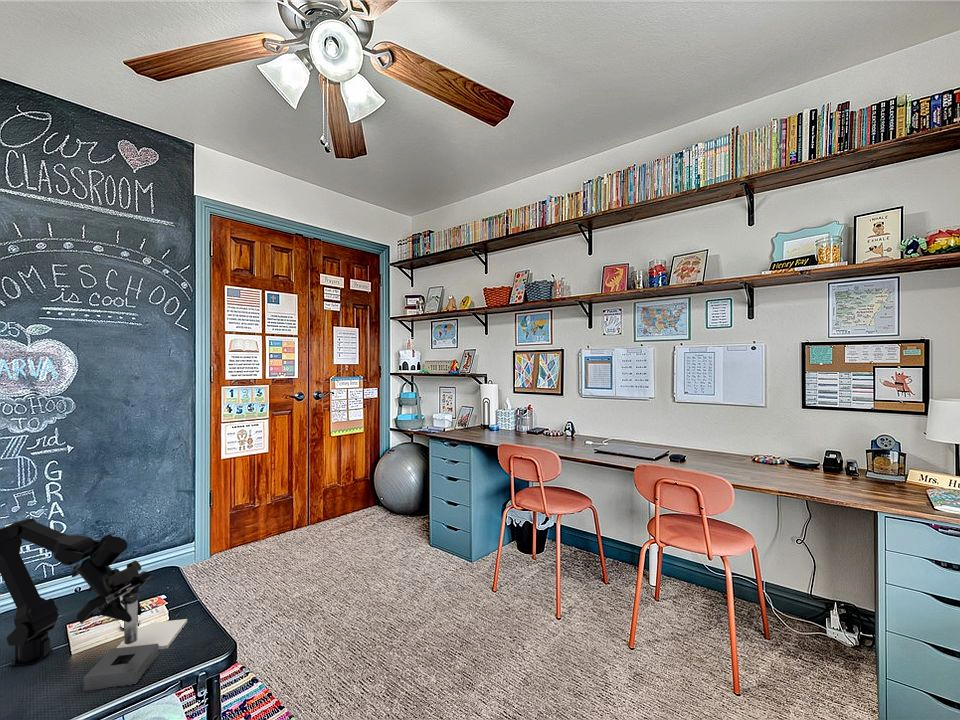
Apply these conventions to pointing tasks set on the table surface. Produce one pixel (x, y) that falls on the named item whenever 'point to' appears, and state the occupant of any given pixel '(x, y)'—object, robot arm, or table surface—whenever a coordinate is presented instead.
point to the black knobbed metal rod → (132, 609)
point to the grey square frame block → (121, 667)
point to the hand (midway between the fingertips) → (135, 617)
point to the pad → (158, 634)
